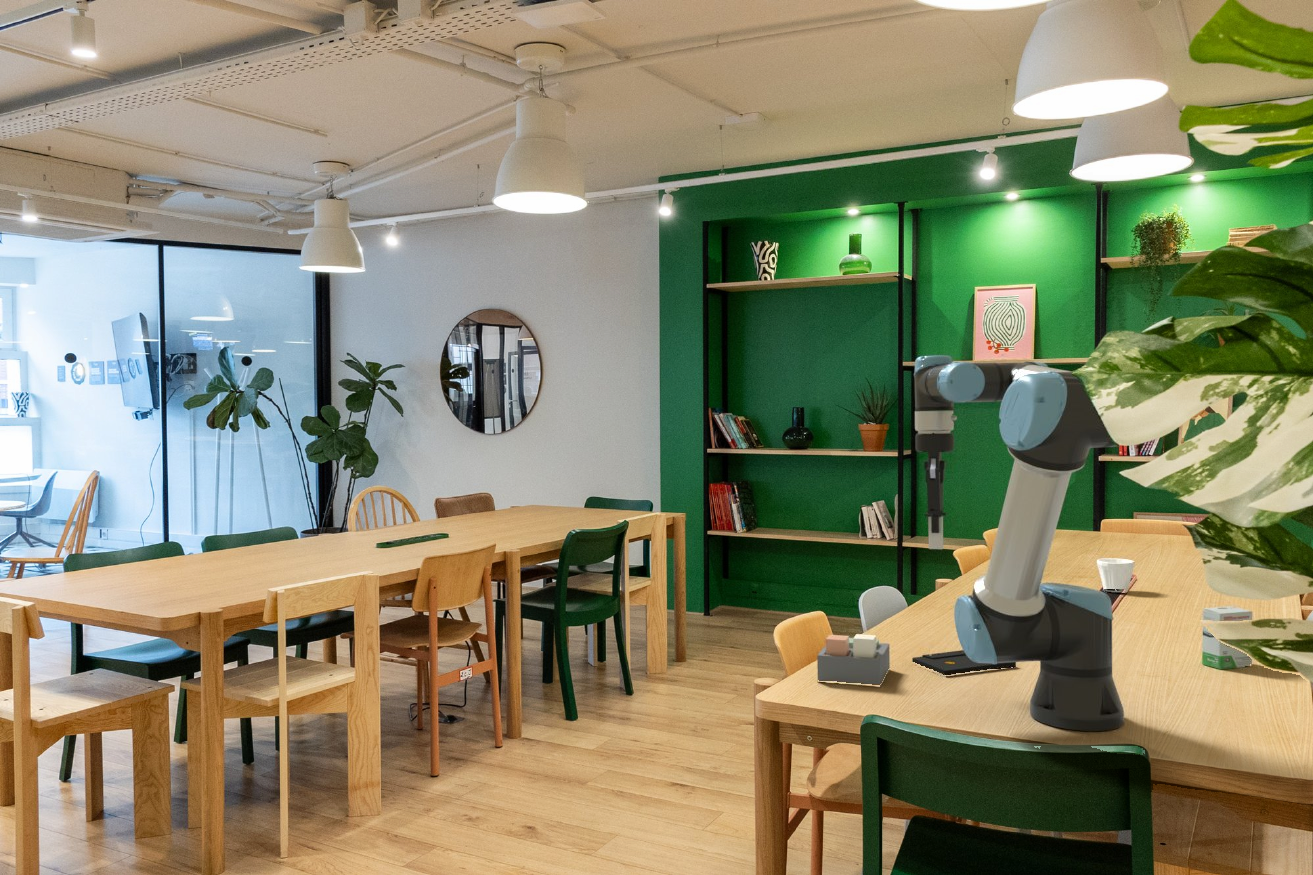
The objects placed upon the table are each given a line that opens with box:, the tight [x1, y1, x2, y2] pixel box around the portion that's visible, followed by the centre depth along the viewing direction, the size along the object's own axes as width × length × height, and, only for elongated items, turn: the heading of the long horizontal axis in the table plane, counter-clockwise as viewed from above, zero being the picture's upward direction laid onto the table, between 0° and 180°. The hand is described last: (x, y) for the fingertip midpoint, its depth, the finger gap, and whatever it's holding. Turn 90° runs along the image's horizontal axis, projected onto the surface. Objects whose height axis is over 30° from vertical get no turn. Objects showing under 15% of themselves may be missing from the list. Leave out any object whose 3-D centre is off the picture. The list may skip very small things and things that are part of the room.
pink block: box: [825, 634, 850, 656], centre depth 199 cm, size 4×4×6 cm
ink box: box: [1201, 605, 1253, 670], centre depth 204 cm, size 9×5×12 cm, turn 105°
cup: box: [1096, 557, 1135, 594], centre depth 286 cm, size 10×10×9 cm
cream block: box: [852, 633, 877, 658], centre depth 197 cm, size 4×4×6 cm
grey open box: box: [816, 637, 891, 685], centre depth 201 cm, size 14×12×6 cm
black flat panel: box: [911, 649, 1017, 675], centre depth 208 cm, size 18×12×2 cm, turn 110°
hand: (935, 548), depth 198 cm, fingers closed
